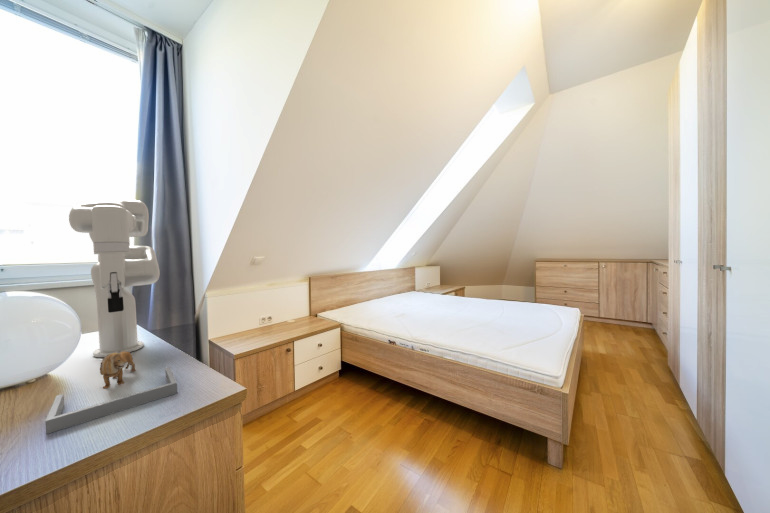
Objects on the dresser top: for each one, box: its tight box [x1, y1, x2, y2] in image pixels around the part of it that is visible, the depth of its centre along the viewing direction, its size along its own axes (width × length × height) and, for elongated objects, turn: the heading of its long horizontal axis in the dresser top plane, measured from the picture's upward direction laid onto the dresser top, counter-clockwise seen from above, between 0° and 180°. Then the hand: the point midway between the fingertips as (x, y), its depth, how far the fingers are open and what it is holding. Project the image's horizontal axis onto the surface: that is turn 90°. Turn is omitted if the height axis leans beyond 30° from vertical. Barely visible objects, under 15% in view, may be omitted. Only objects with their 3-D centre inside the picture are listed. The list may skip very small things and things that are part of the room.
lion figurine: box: [99, 351, 136, 390], centre depth 73 cm, size 15×5×9 cm, turn 34°
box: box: [44, 366, 178, 435], centre depth 63 cm, size 13×20×2 cm, turn 134°
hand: (116, 311), depth 80 cm, fingers closed
